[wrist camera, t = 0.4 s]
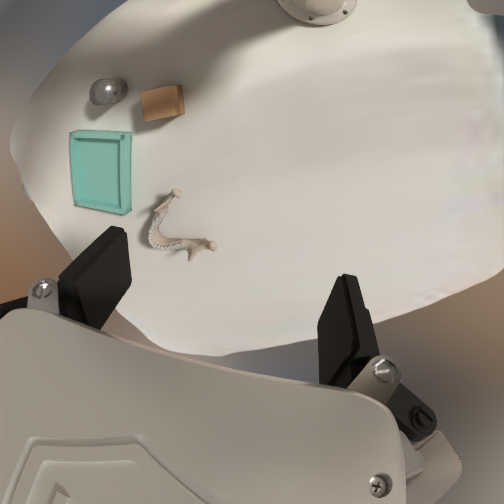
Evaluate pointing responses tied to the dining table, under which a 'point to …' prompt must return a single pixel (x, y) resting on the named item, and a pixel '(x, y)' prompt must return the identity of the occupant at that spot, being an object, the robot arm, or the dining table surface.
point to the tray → (101, 169)
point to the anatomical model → (170, 244)
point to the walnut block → (162, 102)
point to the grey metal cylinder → (108, 91)
